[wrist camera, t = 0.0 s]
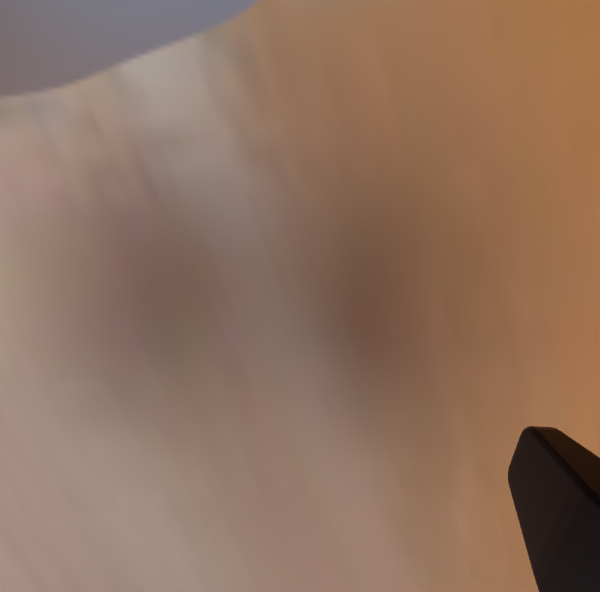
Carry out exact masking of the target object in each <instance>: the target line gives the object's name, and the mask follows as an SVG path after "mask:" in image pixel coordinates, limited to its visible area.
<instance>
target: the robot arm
mask: <svg viewBox="0 0 600 592" xmlns="http://www.w3.org/2000/svg"><path fill="white" fill-rule="evenodd" d="M508 482H509V487H510V490H511V494H512V498H513V501H514V505H515V509H516V512H517V516H518V519H519V523H520V527H521V530H522V534H523V538H524V541H525V545H526V548H527V552H528V556H529V559H530V563H531V567H532V570H533V574H534V577H535V580H536V583H537V587H538V590H539V592H600V458H599V457H598V456H596V455H595V454H593V453H592V452H590V451H589V450H587V449H586V448H584V447H583V446H582V445H580V444H579V443H577V442H576V441H574V440H573V439H571V438H570V437H568V436H567V435H565V434H564V433H563V432H561V431H560V430H558V429H556V428H552V427H537V426H530V427H527V428H525V429H524V430H523V431H522V433H521V436H520V438H519V441H518V444H517V446H516V449H515V452H514V455H513V457H512V460H511V463H510V466H509V470H508Z"/></svg>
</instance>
